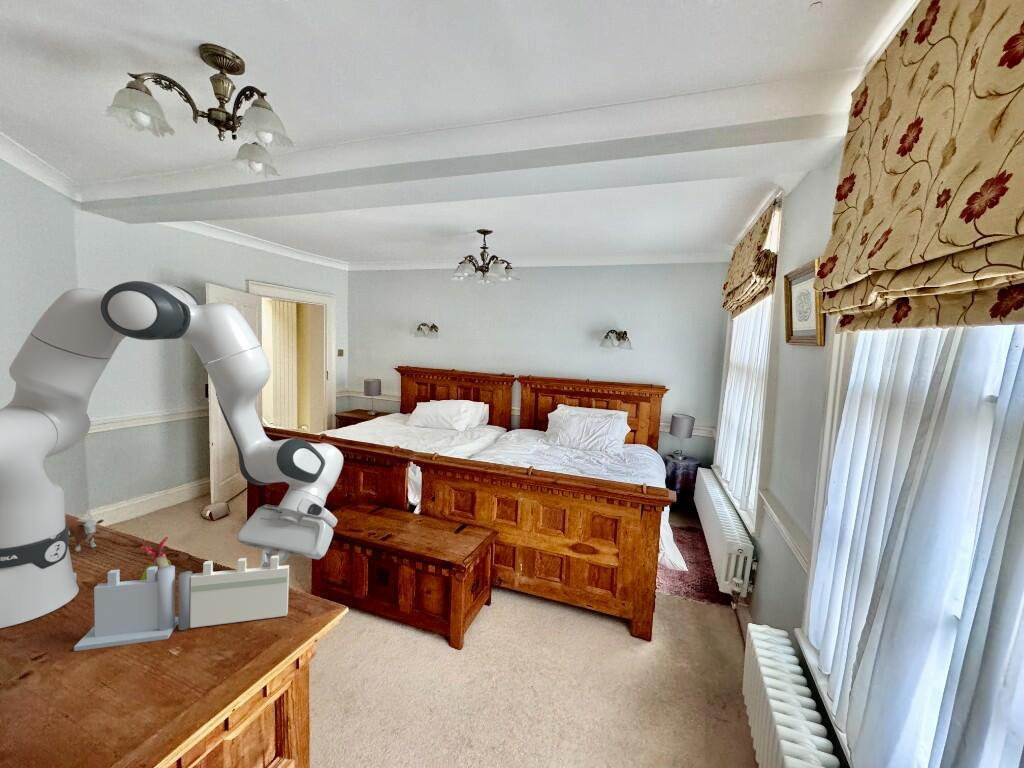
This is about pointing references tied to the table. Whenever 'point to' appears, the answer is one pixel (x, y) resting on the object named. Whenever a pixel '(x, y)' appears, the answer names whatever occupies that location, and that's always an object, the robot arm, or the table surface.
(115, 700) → the table surface
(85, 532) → the bull figurine
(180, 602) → the fence panel
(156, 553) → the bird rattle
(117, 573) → the grey toy wall
